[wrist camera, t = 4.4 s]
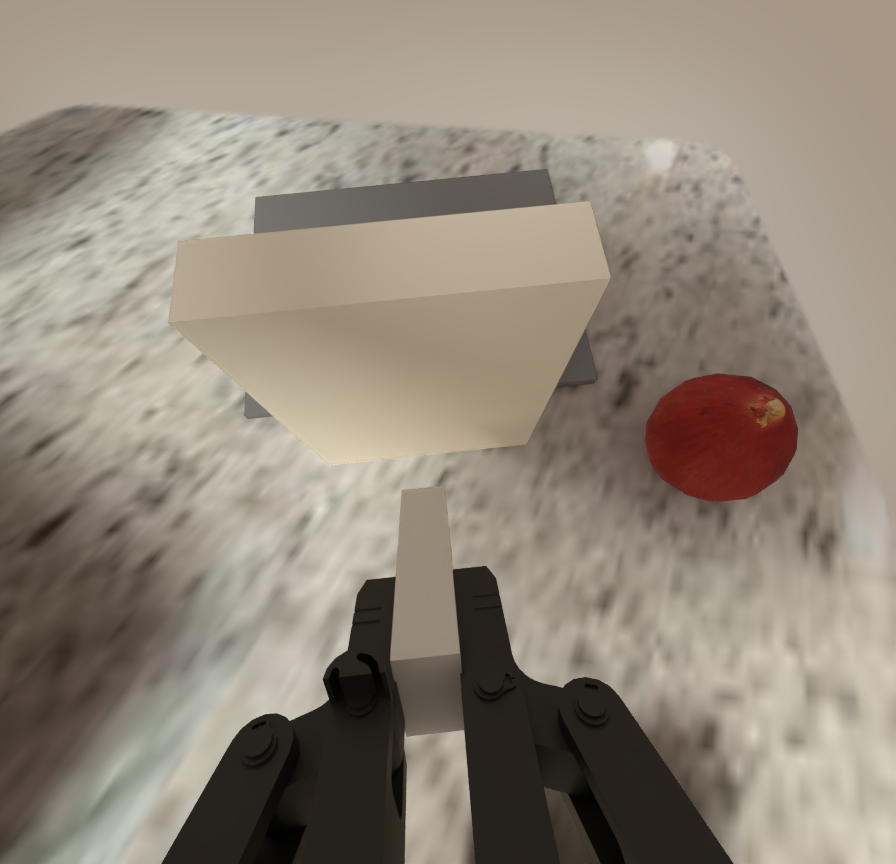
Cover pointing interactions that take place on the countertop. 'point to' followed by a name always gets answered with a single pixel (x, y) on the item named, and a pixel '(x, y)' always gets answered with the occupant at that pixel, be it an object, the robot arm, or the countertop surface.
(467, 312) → the tile
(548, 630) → the countertop surface
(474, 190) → the mat
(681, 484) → the onion
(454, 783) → the countertop surface
